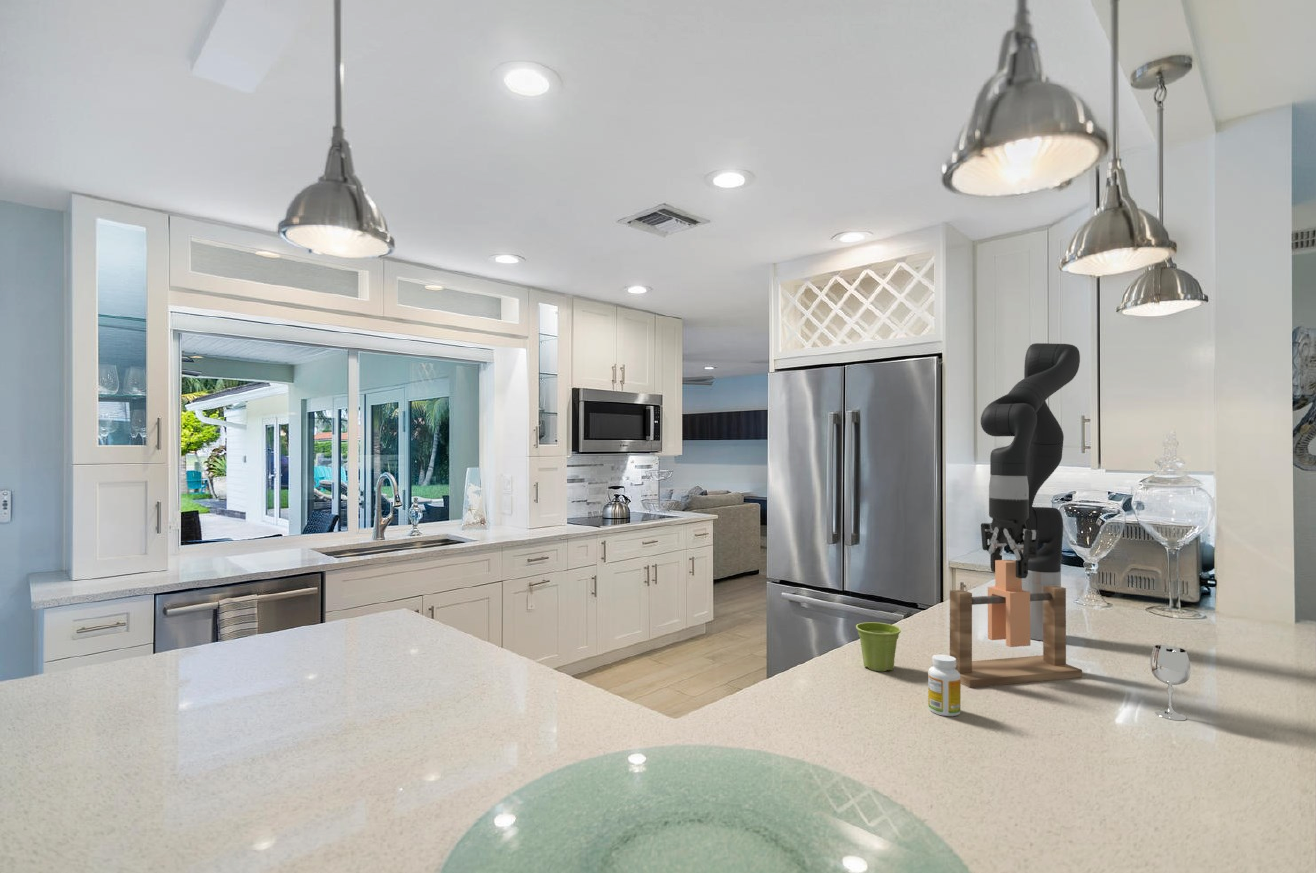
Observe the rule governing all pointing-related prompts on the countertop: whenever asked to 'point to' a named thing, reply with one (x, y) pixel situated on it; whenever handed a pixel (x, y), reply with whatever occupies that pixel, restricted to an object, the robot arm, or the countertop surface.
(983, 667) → the hook stand
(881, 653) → the plant pot
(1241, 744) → the countertop surface
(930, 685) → the supplement bottle
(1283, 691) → the countertop surface
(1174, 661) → the wineglass
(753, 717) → the countertop surface
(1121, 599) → the countertop surface
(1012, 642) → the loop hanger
